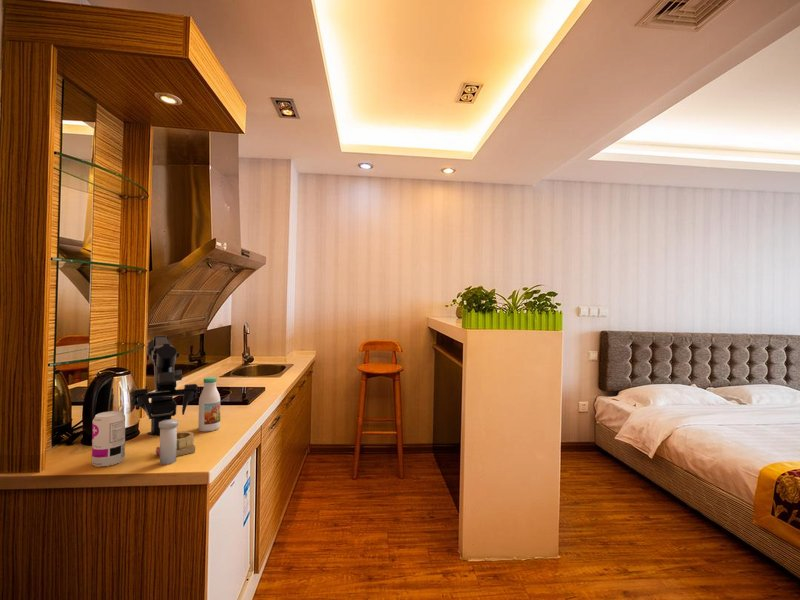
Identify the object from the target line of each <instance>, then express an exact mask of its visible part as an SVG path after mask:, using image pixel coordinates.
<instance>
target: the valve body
mask: <svg viewBox="0 0 800 600" xmlns="http://www.w3.org/2000/svg"><path fill="white" fill-rule="evenodd" d="M194 435H195V434H194V433H193V432H192V431H179V432H177V450H176V456H177V457H181V455H182V456H185V454H186V455H190V454H194V453H193V452H195V453H196V445H194V443H195V442H194V441H195V440H194V439H195V436H194ZM189 453H190V454H189ZM155 454H156V456H158V457H160V446H156V447H155Z"/></svg>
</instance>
